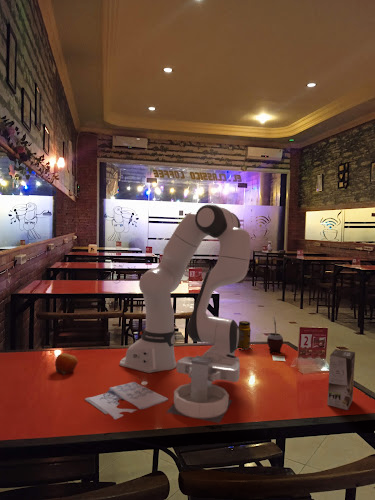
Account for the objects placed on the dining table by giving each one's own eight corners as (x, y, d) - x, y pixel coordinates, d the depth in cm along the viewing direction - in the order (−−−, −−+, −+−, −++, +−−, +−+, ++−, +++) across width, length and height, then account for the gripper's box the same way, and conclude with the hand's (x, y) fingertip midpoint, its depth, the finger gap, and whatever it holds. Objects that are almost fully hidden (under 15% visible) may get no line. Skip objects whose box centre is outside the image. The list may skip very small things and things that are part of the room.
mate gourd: (275, 355, 173) (277, 321, 172) (262, 350, 179) (263, 318, 178) (286, 352, 178) (287, 319, 177) (272, 348, 184) (273, 316, 183)
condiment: (253, 348, 183) (254, 322, 182) (240, 350, 178) (241, 324, 177) (243, 344, 189) (244, 319, 188) (229, 346, 184) (230, 321, 184)
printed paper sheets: (169, 405, 121) (170, 398, 120) (112, 424, 107) (113, 417, 107) (135, 385, 135) (135, 379, 135) (81, 400, 121) (81, 394, 121)
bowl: (166, 412, 113) (166, 398, 113) (185, 391, 128) (185, 379, 128) (219, 423, 108) (219, 408, 107) (232, 400, 123) (233, 387, 122)
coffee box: (348, 410, 119) (351, 358, 119) (326, 405, 123) (329, 354, 122) (353, 400, 127) (356, 351, 126) (332, 395, 131) (335, 348, 130)
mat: (166, 414, 113) (166, 412, 113) (185, 393, 128) (185, 391, 128) (219, 425, 108) (219, 423, 108) (232, 402, 123) (232, 400, 123)
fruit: (46, 371, 140) (54, 349, 144) (58, 376, 146) (66, 355, 150) (64, 375, 137) (72, 352, 141) (76, 380, 143) (83, 358, 147)
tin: (190, 400, 116) (191, 360, 116) (195, 394, 121) (196, 355, 120) (206, 404, 114) (208, 363, 114) (211, 397, 119) (213, 357, 119)
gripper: (184, 349, 133) (169, 361, 120) (244, 358, 126) (234, 371, 113) (184, 367, 133) (168, 381, 120) (243, 377, 126) (233, 393, 113)
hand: (201, 377), depth 117 cm, fingers closed on tin, 5 cm apart
